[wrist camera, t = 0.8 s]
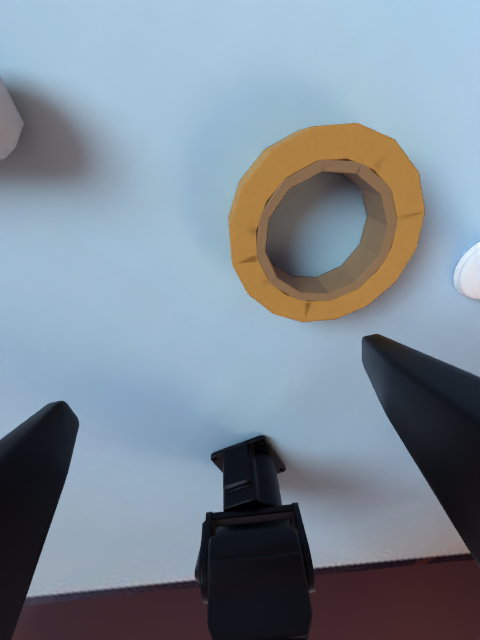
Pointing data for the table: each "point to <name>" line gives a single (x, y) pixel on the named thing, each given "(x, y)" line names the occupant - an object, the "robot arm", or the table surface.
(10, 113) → the tube
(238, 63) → the table surface
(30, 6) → the table surface
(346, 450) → the table surface
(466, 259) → the chess piece
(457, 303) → the table surface
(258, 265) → the tape roll
